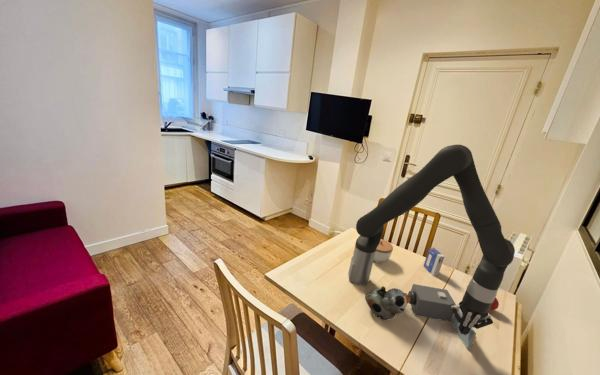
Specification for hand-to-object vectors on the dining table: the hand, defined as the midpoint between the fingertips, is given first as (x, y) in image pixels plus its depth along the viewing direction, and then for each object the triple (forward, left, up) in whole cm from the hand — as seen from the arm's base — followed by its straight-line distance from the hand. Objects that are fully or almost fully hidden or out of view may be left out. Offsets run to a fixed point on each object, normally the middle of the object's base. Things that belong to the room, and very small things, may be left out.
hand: (462, 332), depth 88 cm
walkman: (+6, +43, -6) cm, 44 cm away
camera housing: (-5, +14, -5) cm, 16 cm away
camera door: (+3, +4, -5) cm, 7 cm away
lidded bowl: (-21, +46, -6) cm, 51 cm away
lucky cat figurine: (-24, +10, -6) cm, 27 cm away
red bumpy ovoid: (+22, +21, -5) cm, 31 cm away
